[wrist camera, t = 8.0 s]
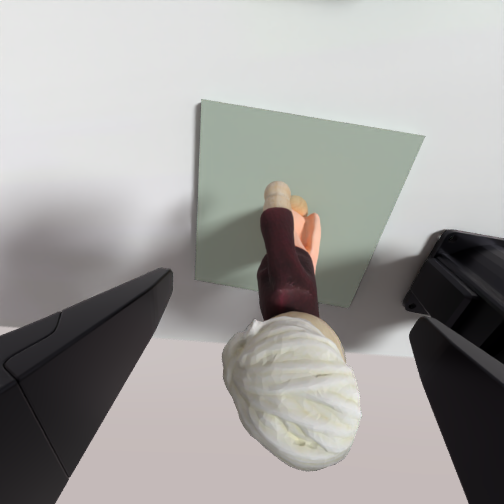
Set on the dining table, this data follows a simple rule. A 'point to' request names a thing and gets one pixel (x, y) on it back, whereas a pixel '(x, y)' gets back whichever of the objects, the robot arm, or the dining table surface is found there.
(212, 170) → the sage mat
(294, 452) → the grandmother figurine
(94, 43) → the dining table surface
